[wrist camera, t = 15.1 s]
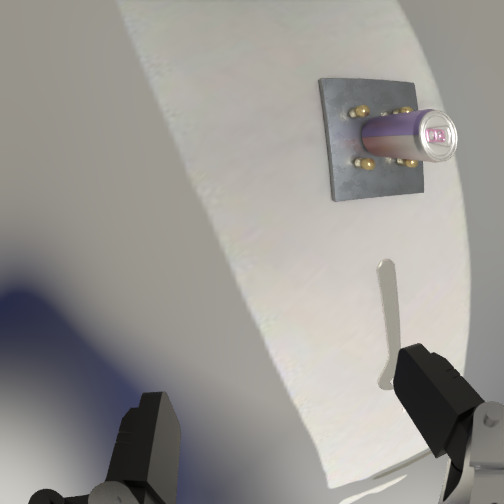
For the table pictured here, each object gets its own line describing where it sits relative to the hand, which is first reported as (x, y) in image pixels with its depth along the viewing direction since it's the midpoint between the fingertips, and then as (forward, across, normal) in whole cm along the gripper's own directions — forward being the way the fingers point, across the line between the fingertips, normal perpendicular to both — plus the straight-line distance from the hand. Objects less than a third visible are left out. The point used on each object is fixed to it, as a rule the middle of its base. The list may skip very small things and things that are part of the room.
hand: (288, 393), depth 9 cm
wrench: (+37, -26, +28) cm, 53 cm away
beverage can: (+35, -22, -8) cm, 42 cm away
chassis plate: (+36, -22, -8) cm, 43 cm away
